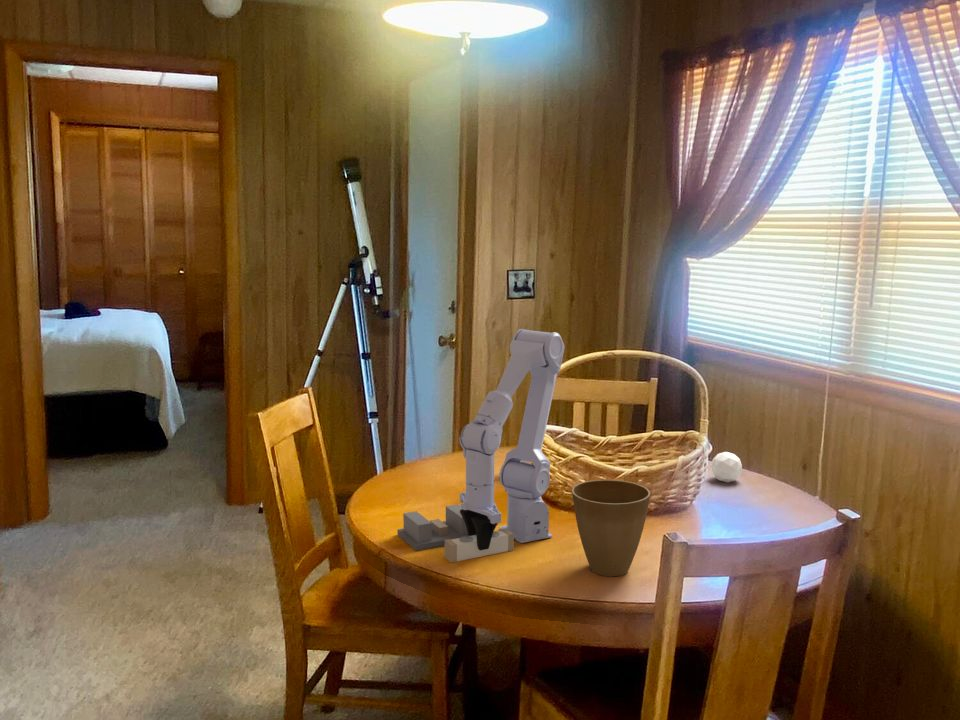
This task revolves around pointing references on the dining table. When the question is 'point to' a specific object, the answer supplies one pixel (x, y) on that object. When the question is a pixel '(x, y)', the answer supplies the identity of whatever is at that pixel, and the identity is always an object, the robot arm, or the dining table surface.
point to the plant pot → (610, 522)
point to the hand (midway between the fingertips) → (479, 546)
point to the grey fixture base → (432, 529)
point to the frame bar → (469, 549)
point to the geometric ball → (726, 467)
